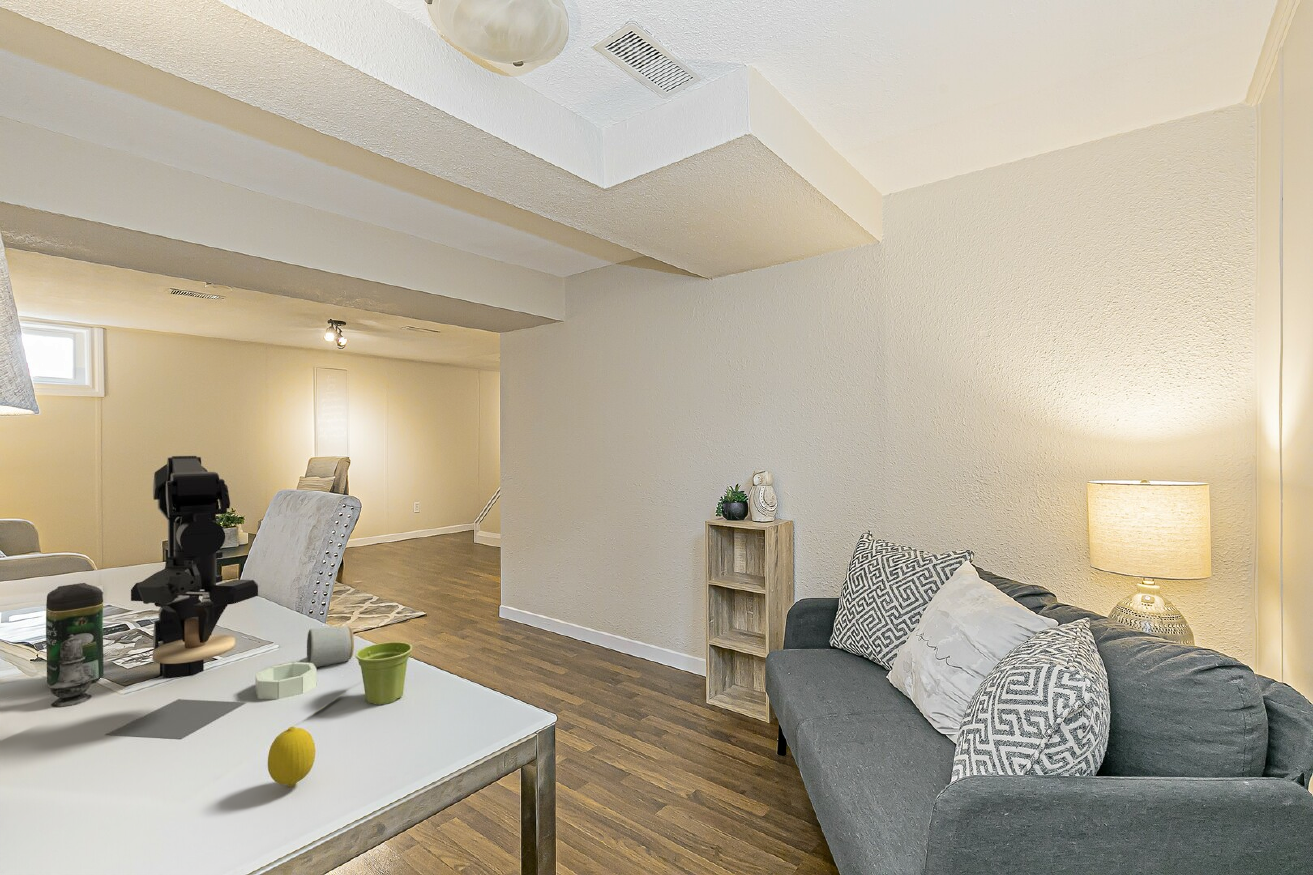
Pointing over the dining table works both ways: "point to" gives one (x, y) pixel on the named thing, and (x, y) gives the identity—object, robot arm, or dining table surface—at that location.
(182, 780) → the dining table surface
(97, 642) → the coffee jar
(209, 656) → the lid
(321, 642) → the ceramic mug
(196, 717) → the mat
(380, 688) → the plant pot
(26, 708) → the dining table surface
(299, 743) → the lemon
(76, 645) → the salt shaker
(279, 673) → the bowl
